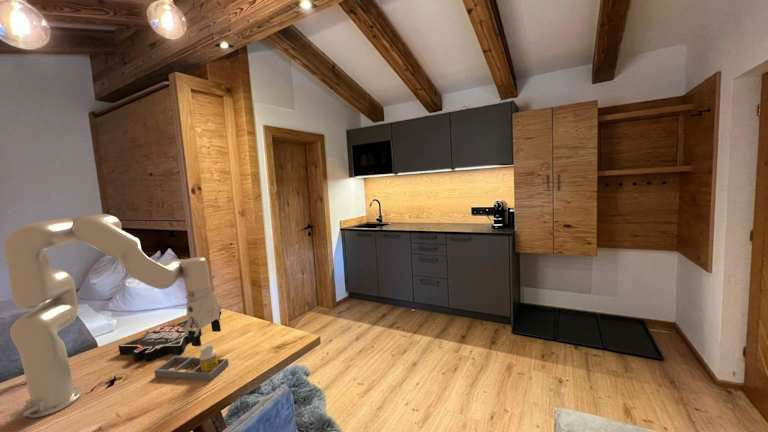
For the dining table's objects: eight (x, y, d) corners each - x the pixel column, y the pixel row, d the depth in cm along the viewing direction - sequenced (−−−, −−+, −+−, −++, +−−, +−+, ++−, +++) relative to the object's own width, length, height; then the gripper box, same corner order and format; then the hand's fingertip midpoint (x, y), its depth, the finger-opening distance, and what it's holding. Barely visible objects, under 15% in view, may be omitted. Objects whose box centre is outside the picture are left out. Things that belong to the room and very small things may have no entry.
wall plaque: (105, 353, 123) (165, 318, 152) (107, 363, 123) (166, 326, 153) (170, 353, 120) (218, 317, 150) (171, 363, 121) (219, 325, 150)
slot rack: (211, 380, 107) (210, 373, 107) (155, 376, 112) (153, 369, 111) (228, 364, 116) (227, 357, 116) (176, 361, 121) (175, 355, 120)
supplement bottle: (213, 366, 116) (209, 342, 115) (221, 369, 114) (218, 345, 112) (198, 374, 112) (194, 349, 110) (207, 378, 109) (203, 352, 108)
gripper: (189, 303, 100) (197, 352, 102) (225, 283, 116) (232, 326, 119) (169, 303, 101) (178, 351, 103) (208, 284, 118) (215, 326, 120)
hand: (207, 338), depth 111 cm, fingers open, 9 cm apart
